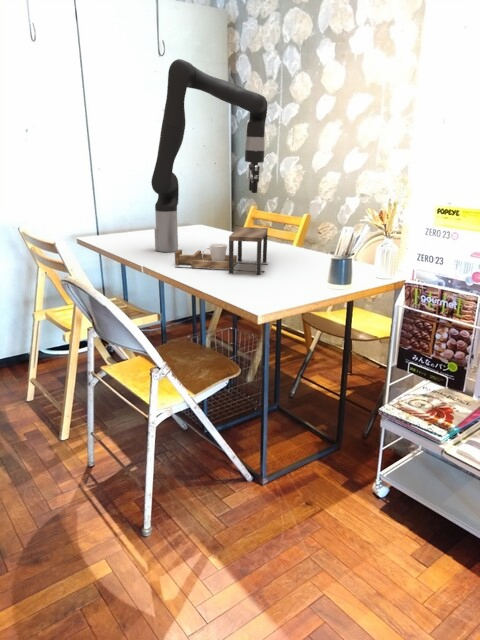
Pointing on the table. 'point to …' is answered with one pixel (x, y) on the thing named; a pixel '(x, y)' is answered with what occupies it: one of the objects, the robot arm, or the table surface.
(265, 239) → the small wooden stool
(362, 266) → the table surface
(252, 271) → the rails
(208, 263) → the tray
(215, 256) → the cup
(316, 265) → the table surface
